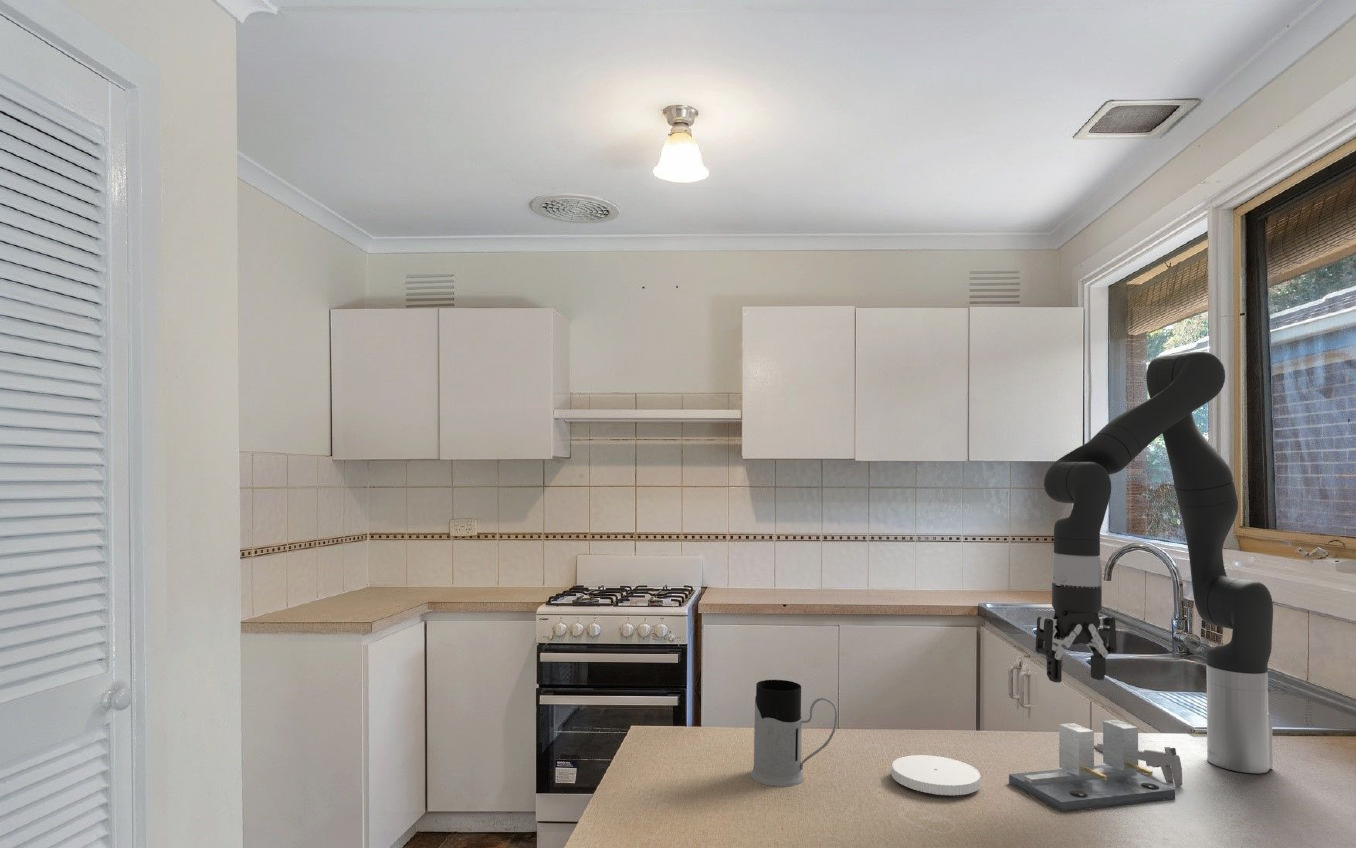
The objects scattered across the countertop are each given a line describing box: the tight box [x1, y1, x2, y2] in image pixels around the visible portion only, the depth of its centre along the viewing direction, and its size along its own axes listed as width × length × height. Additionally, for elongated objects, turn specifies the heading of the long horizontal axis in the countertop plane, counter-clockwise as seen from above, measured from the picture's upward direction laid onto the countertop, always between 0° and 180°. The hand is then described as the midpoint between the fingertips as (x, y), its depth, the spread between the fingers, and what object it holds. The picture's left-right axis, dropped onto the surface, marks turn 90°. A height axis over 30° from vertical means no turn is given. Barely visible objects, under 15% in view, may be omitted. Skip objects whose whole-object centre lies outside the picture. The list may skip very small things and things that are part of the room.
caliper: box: [1094, 742, 1183, 787], centre depth 150 cm, size 20×1×6 cm, turn 12°
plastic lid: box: [891, 754, 982, 796], centre depth 139 cm, size 14×14×2 cm
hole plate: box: [1008, 764, 1176, 813], centre depth 137 cm, size 22×12×2 cm, turn 107°
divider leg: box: [1058, 722, 1107, 780], centre depth 137 cm, size 3×8×7 cm, turn 17°
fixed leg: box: [1102, 719, 1154, 776], centre depth 140 cm, size 3×8×7 cm, turn 17°
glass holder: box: [750, 679, 838, 788], centre depth 140 cm, size 9×14×15 cm, turn 70°
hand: (1076, 680), depth 139 cm, fingers open, 8 cm apart
